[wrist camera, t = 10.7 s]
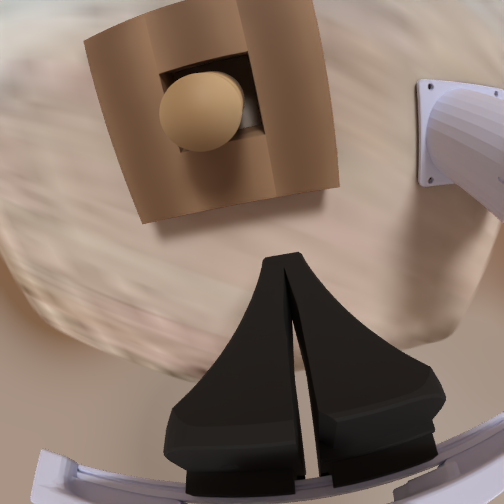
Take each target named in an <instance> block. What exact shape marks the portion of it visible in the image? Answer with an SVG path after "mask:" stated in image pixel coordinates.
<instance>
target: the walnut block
mask: <svg viewBox="0 0 504 504" xmlns="http://www.w3.org/2000/svg"><path fill="white" fill-rule="evenodd" d="M84 45H85V50H86V54H87V58H88V62H89V66H90V70H91V74H92V78H93V81H94V85H95V89H96V92H97V96H98V99H99V103H100V106H101V110H102V113H103V116H104V119H105V123H106V126H107V129H108V132H109V135H110V138H111V141H112V144H113V147H114V150H115V153H116V156H117V159H118V161H119V164H120V167H121V170H122V173H123V175H124V178H125V181H126V183H127V186H128V189H129V191H130V194H131V197H132V199H133V202H134V204H135V207H136V209H137V212H138V214H139V217H140V219H141V222H142V224H146V223H151V222H155V221H160V220H164V219H168V218H173V217H178V216H182V215H187V214H192V213H196V212H201V211H206V210H211V209H216V208H221V207H226V206H231V205H236V204H242V203H247V202H252V201H258V200H263V199H269V198H275V197H280V196H286V195H292V194H298V193H304V192H311V191H317V190H323V189H330V188H337V187H340V183H339V170H338V158H337V148H336V138H335V129H334V121H333V113H332V105H331V98H330V91H329V84H328V78H327V72H326V66H325V60H324V54H323V49H322V44H321V39H320V34H319V29H318V24H317V20H316V15H315V11H314V6H313V2H312V0H185V1H181V2H178V3H174V4H171V5H168V6H165V7H162V8H159V9H156V10H153V11H150V12H148V13H145V14H142V15H140V16H137V17H135V18H132V19H130V20H127V21H125V22H123V23H120V24H118V25H116V26H113V27H111V28H109V29H107V30H105V31H103V32H101V33H98V34H96V35H94V36H92V37H90V38H89V39H87V40H85V41H84ZM244 55H248V58H249V63H250V68H251V72H252V77H253V81H254V86H255V91H256V96H257V101H258V105H259V110H260V115H261V120H262V125H258V126H252V127H247V128H242V129H238V130H237V131H236V133H235V134H234V136H233V137H232V138H231V139H230V140H229V141H228V142H227V143H225V144H224V145H222V146H220V147H219V148H216V149H214V150H210V151H204V152H196V151H190V150H186V149H183V148H181V147H179V146H178V145H176V144H175V143H173V142H172V141H171V140H170V139H169V138H168V137H167V135H166V134H165V132H164V130H163V128H162V126H161V123H160V117H159V108H160V103H161V100H162V98H163V96H164V94H165V92H166V91H167V89H168V88H169V87H170V86H171V85H172V84H173V83H174V82H175V81H174V78H173V74H172V73H174V72H177V71H181V70H184V69H188V68H191V67H195V66H199V65H203V64H207V63H211V62H215V61H219V60H224V59H229V58H233V57H238V56H244Z"/></svg>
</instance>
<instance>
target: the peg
mask: <svg viewBox="0 0 504 504" xmlns="http://www.w3.org/2000/svg"><path fill="white" fill-rule="evenodd" d="M244 103H245V98H244V93H243V90H242V88H241V86H240V84H239V83H238V82H237V81H236V80H235V79H234V78H233V77H232V76H230V75H228V74H226V73H223V72H219V71H207V72H203V73H194V74H190V75H187V76H184V77H182V78H180V79H178V80H177V81H175V82H174V83H173V84H172V85H171V86H170V87H169V88H168V89H167V91H166V92H165V94H164V96H163V98H162V100H161V103H160V108H159V117H160V123H161V126H162V128H163V130H164V132H165V134H166V135H167V137H168V138H169V139H170V140H171V141H172V142H173V143H175V144H176V145H178V146H179V147H181V148H183V149H186V150H190V151H196V152H204V151H210V150H214V149H216V148H219V147H220V146H222V145H224V144H225V143H227V142H228V141H229V140H230V139H231V138H232V137H233V136H234V134H235V133H236V131H237V130H238V127H239V125H240V122H241V118H242V112H243V109H244Z"/></svg>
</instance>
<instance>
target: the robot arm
mask: <svg viewBox="0 0 504 504" xmlns="http://www.w3.org/2000/svg"><path fill="white" fill-rule="evenodd" d="M428 84H430V85H431V88H430V90H429V89H428ZM494 93H495V95H494ZM417 98H418V118H419V169H418V182H419V184H420V185H421V186H423V187H429V186H438V185H447V184H457V185H458V186H460V187H461V188H462V189H463V190H465V191H466V192H467V193H468V194H470V195H471V196H472V197H473V198H475V199H476V200H477V201H478V202H480V203H481V204H482V205H483V206H484V207H485V208H487V209H488V210H489V211H490V212H491V213H492V214H493V215H495V216H496V217H497V218H498V219H499V220H500V221H501V222H502V223H503V224H504V90H503V89H499V88H494V87H488V86H482V85H475V84H468V83H460V82H452V81H441V80H428V79H420V80H418V82H417ZM430 177H431V180H430V181H429V182H428V180H429V178H430ZM292 320H293V324H294V328H295V332H296V336H297V340H298V343H299V347H300V351H301V355H302V359H303V363H304V367H305V371H306V376H307V382H308V389H309V396H310V403H311V411H312V418H313V426H314V434H315V442H316V450H317V459H318V468H319V477H317V478H311V479H305V475H306V468H305V459H304V450H303V442H302V433H301V425H300V417H299V409H298V400H297V393H296V385H295V375H294V351H293V327H292ZM445 401H446V396H445V393H444V391H443V388H442V385H441V384H440V382H439V380H438V378H437V377H436V375H435V373H434V372H433V370H432V368H431V367H430V366H428V365H426V364H424V363H422V362H420V361H418V360H416V359H414V358H412V357H410V356H409V355H407V354H405V353H403V352H402V351H400V350H399V349H397V348H395V347H394V346H392V345H391V344H389V343H388V342H386V341H385V340H384V339H382V338H381V337H379V336H378V335H377V334H375V333H374V332H372V331H371V330H370V329H368V328H367V327H366V326H365V325H363V324H362V323H361V322H360V321H359V320H357V319H356V318H355V317H354V316H353V315H352V314H351V313H349V312H348V311H347V310H346V309H345V308H344V307H343V306H342V305H341V304H340V303H339V302H338V301H337V300H336V299H335V298H334V297H333V295H332V294H331V293H330V292H329V291H328V290H327V289H326V288H325V286H324V285H323V284H322V283H321V282H320V280H319V279H318V278H317V277H316V275H315V274H314V273H313V271H312V270H311V269H310V267H309V266H308V264H307V263H306V261H305V259H304V258H303V256H302V254H301V253H299V252H295V253H289V254H283V255H277V256H271V257H265V258H264V260H263V262H262V268H261V272H260V276H259V279H258V282H257V285H256V288H255V291H254V293H253V296H252V299H251V301H250V303H249V305H248V308H247V310H246V312H245V314H244V316H243V318H242V320H241V322H240V324H239V326H238V328H237V330H236V331H235V333H234V335H233V336H232V338H231V340H230V341H229V343H228V344H227V346H226V347H225V349H224V350H223V352H222V353H221V355H220V356H219V357H218V359H217V360H216V362H215V363H214V364H213V365H212V367H211V368H210V369H209V370H208V371H207V373H206V374H205V375H204V376H203V377H202V379H201V380H200V381H199V382H198V383H197V384H196V385H195V387H194V388H193V389H192V390H191V391H190V392H189V393H188V394H187V395H186V396H185V397H184V398H182V399H181V401H179V402H178V403H177V404H176V405H175V406H174V407H173V408H172V411H171V414H170V418H169V421H168V425H167V428H166V435H165V443H164V451H163V452H164V456H165V457H166V458H167V459H168V460H170V461H171V462H173V463H174V464H176V465H178V466H179V467H181V468H183V469H185V470H187V475H186V483H180V482H170V481H160V480H153V479H146V478H139V477H133V476H128V475H122V474H117V473H113V472H108V471H104V470H100V469H96V468H92V467H88V466H84V465H80V464H77V462H75V461H73V460H72V459H70V458H68V457H65V456H63V455H60V454H57V453H54V452H51V451H48V450H46V449H41V452H40V456H39V460H38V464H37V468H36V473H35V477H34V483H33V487H32V493H31V497H30V500H31V502H33V503H35V504H187V503H196V504H278V503H289V502H298V501H306V500H313V499H320V498H326V497H332V496H337V495H342V494H347V493H351V492H356V491H360V490H364V489H368V488H372V487H376V486H379V485H383V484H386V483H390V482H393V481H396V480H399V479H402V478H405V477H408V476H411V475H414V474H417V473H419V472H422V471H425V470H427V469H430V468H432V467H435V466H437V465H439V466H438V468H437V469H435V470H433V471H431V472H428V473H426V474H424V475H421V476H419V477H417V478H414V479H412V480H409V481H408V483H406V484H404V485H403V486H400V487H398V488H396V489H394V490H393V495H394V502H391V503H388V504H486V503H488V502H489V501H491V500H492V499H494V498H495V497H496V496H498V495H499V494H501V493H502V492H503V491H504V411H503V412H502V413H500V414H499V415H497V416H495V417H493V418H491V419H489V420H488V421H486V422H484V423H482V424H480V425H478V426H476V427H474V428H472V429H470V430H468V431H466V432H464V433H462V434H460V435H457V436H455V437H453V438H451V439H449V440H446V441H444V442H441V443H439V444H437V445H436V444H435V441H434V438H433V434H432V433H434V432H435V427H434V424H433V421H432V419H433V418H434V417H435V416H436V415H437V413H438V412H439V410H441V408H442V406H443V405H444V403H445Z"/></svg>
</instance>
